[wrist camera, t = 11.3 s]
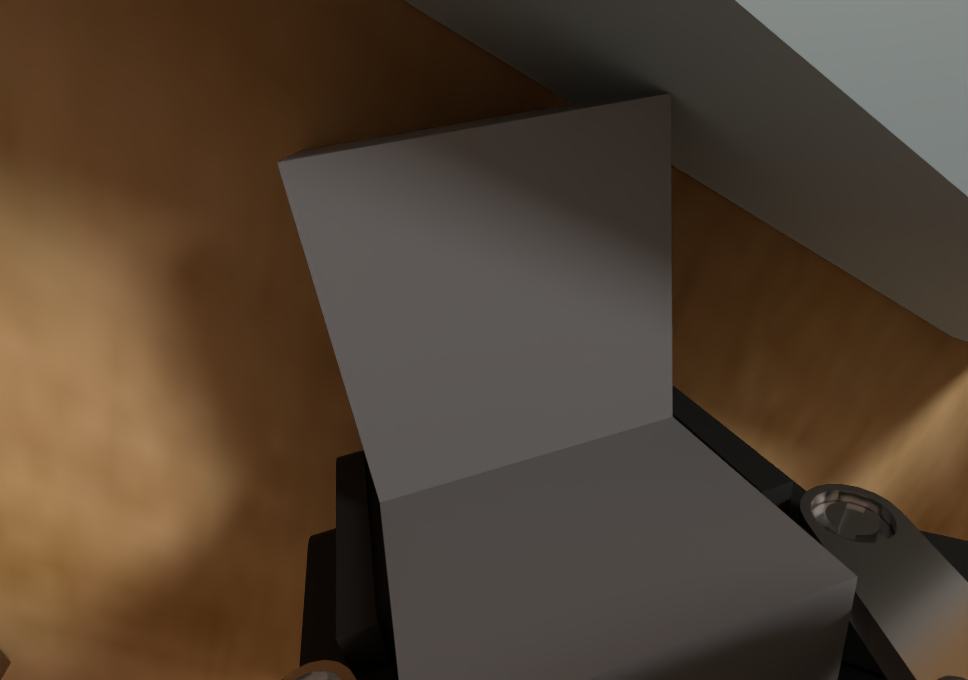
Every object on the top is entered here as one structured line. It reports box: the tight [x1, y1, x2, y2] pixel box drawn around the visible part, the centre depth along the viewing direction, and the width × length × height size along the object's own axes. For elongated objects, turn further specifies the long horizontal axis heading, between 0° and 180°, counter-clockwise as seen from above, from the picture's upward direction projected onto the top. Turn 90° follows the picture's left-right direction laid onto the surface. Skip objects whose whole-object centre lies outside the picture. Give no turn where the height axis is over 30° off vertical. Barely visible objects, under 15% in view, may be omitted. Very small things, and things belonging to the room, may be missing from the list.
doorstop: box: [277, 93, 858, 680], centre depth 9 cm, size 5×11×7 cm, turn 9°
